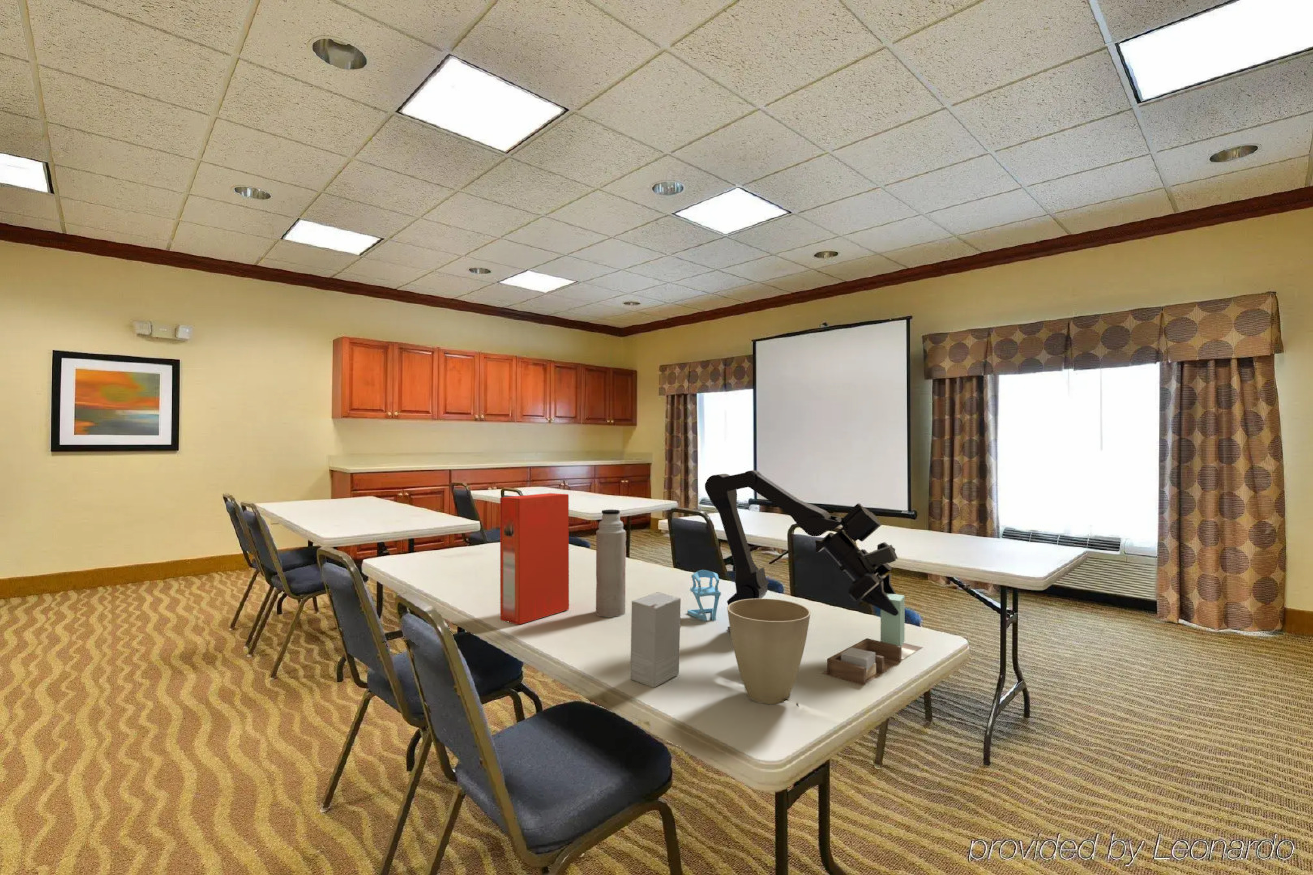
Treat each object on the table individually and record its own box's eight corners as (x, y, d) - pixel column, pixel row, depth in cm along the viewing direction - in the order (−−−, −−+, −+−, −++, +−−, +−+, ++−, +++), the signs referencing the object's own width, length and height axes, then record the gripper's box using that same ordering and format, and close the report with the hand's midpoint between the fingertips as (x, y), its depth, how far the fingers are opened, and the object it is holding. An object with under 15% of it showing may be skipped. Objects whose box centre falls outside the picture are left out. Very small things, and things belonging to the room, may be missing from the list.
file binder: (499, 619, 157) (500, 496, 158) (548, 605, 171) (549, 492, 172) (520, 625, 153) (520, 498, 153) (568, 610, 166) (569, 494, 167)
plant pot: (713, 701, 108) (713, 612, 108) (746, 674, 120) (746, 594, 121) (794, 722, 100) (794, 625, 100) (820, 690, 113) (820, 605, 113)
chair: (696, 622, 156) (696, 575, 156) (686, 613, 164) (687, 569, 164) (724, 620, 158) (724, 574, 158) (713, 611, 166) (714, 567, 166)
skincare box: (655, 667, 124) (655, 590, 124) (683, 676, 119) (683, 596, 120) (627, 680, 117) (627, 598, 118) (655, 689, 113) (656, 604, 113)
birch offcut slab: (864, 680, 115) (864, 670, 115) (840, 673, 118) (840, 663, 118) (876, 673, 118) (876, 663, 118) (852, 666, 122) (852, 656, 122)
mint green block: (900, 648, 128) (900, 600, 128) (880, 644, 130) (880, 598, 130) (904, 640, 132) (904, 595, 132) (885, 637, 134) (885, 592, 135)
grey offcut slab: (866, 670, 115) (866, 659, 115) (841, 664, 118) (841, 653, 118) (875, 662, 119) (875, 652, 119) (850, 657, 122) (850, 647, 122)
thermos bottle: (626, 609, 168) (626, 508, 168) (624, 617, 160) (624, 511, 160) (597, 608, 168) (598, 508, 168) (594, 617, 160) (594, 511, 160)
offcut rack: (863, 690, 113) (863, 669, 113) (821, 678, 119) (821, 657, 119) (922, 651, 134) (922, 633, 134) (885, 642, 140) (885, 625, 140)
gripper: (864, 537, 125) (922, 597, 120) (882, 526, 141) (933, 579, 135) (826, 570, 129) (880, 631, 124) (847, 557, 145) (896, 609, 139)
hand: (899, 611), depth 130 cm, fingers closed on mint green block, 5 cm apart
